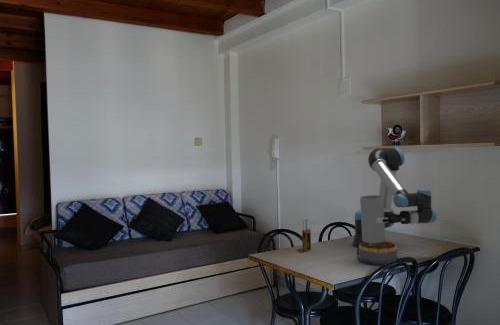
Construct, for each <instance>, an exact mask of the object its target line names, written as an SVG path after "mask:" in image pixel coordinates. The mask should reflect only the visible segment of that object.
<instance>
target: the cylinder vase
mask: <svg viewBox="0 0 500 325" xmlns="http://www.w3.org/2000/svg"><path fill="white" fill-rule="evenodd" d="M359 200H360V202H359V203H360V210H361V224H362V240H363V241H364V242H366V243H373V244H375V243H382V242H386V228H385V223H376V218H384V200H383V196H379V194H378V195H376V194H375V195H374V194H372V195H371V194H370V195H361V196H360V197H359Z"/></svg>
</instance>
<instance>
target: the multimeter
mask: <svg viewBox="0 0 500 325" xmlns="http://www.w3.org/2000/svg"><path fill="white" fill-rule="evenodd" d="M304 223H305V226H304ZM302 228H303V230H302V231H301V236H302V237H301V238H302V239H301V240H302V241H301V243H302V245H301V246H302V247H296V249H297V250H298V252H299V253H301V254H303V253H304V252H308V251H310V250H312V240H311V238H312V231H311V228H308V219H305V220H303V222H302ZM301 249H302V252H301Z"/></svg>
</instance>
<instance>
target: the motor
mask: <svg viewBox="0 0 500 325" xmlns="http://www.w3.org/2000/svg"><path fill="white" fill-rule="evenodd" d="M356 255H357V256H358V261H359V263H362V264H365V265H367V266H368V265H370V266H378V267H380V266H381V267H383V266H382V265H385V264H387V263H389V262H392V261H394V260H397V259H399V256H398V255H399V253H398V245H397V244H396V243H394V242H389V241H384V242H382V243H375V244H373V243H366V242H362V243H360V244H359V247H356Z"/></svg>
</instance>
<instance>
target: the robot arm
mask: <svg viewBox="0 0 500 325" xmlns="http://www.w3.org/2000/svg"><path fill="white" fill-rule="evenodd" d="M367 158H368V160H367V161H368V165H369V168H370V169H371V170H372V172H375V173H376V174H377V175H378V177H379V178H380V184H379V189H378V190H379V192H378V196H383V200H384V218H376V223H385V229H387V228H392V227H393V226H394V224H396V223H400V224H402V225H409V224H410V225H411V224H412V225H413V226H414V225H416V224H432V223H435V222H436V221H437V217H438V216H437V213H436V210H435V209H432V190H431V189H429V188H418V189H417V190H416V192H411V193H410V192H409V191H407V190H406V188H405V187H404V185H403V184H402V183H401V182H400V180H399V179H398V177H397V172H398V171H399V170H400V167H401V166H403V165H404V163H405V154H404V152H403V151H402V149H401V148H399V147H377V148H374V149H373V150H372V151H370V153H369V154H368V157H367ZM392 202H393V203H392ZM392 204H394V206H395V207H397V208H409V207H416V208H417V209H415V210H412V209H411V210H401V211H399V213H395V211H394V209H393V207H392ZM362 242H364V241H363V240H362V224H361V209H358V210H356V211H355V212H354V237H353V240H352V246H353V247H355V248H359V244H360V243H362Z"/></svg>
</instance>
